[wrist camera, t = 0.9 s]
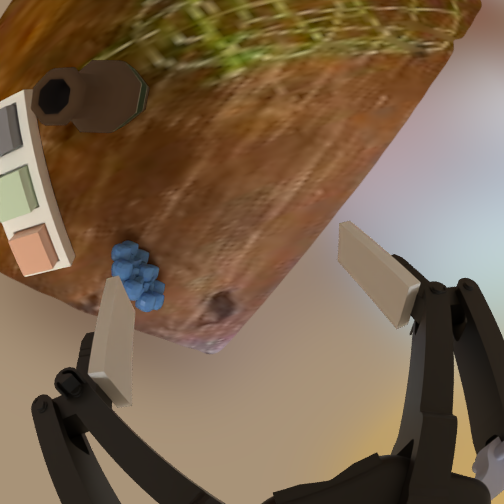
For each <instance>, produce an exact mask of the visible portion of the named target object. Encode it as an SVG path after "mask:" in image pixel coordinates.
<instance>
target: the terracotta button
mask: <svg viewBox="0 0 504 504" xmlns="http://www.w3.org/2000/svg"><path fill="white" fill-rule="evenodd" d="M8 242H9V244H10V247H11V249H12V252H13V254H14V256H15V258H16V261H17V263H18V265H19V267H20V269H21V271H22V273H23V275H24V276H26V275H30V274H34V273H38V272H42V271H47V270H51V269H53V268H54V266H55V264H56V262H57V261H58V259H59V258H58V255H57V253H56V250H55V248H54V245H53V243H52V240H51V238H50V235H49V232H48V230H47V227H46V224H45V223H44V224H41V225H37V226H34V227H31V228H28V229H25V230H22V231H19V232H16V233H15V234H14V235H13V237H12V238H11V239H10V240H9V241H8Z"/></svg>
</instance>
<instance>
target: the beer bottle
mask: <svg viewBox="0 0 504 504" xmlns="http://www.w3.org/2000/svg"><path fill="white" fill-rule="evenodd" d="M148 93H149V87H148V85H147V84H146V83H145V81H144V80H143V79H142V77H141V76H140V75H139V73H138V72H137V71H136V70H135V69H134V68H133V67H131V66H130V65H129V64H127V63H126V62H124V61H115V60H92V61H91V62H89V63H88V64H87V65H86V66H85V67H84V68H82V69H81V70H80V71H79V72H78V70H77V69H76V68H75V67H71V68H54V69H52V70H50V71H49V72H48V73H47V74H46V75H45V76H44V77H43V78H42V79H41V80H40V81H39V82H38V83H37V84H36V85H35V86H34V88H33V94H32V102H31V110H32V111H33V113H34V114H35V115H36V117H37V118H38V119H39V121H40V122H41V123H42V124H44V125H67V124H68V123H69V122H70V121H72V122H73V123H74V125H75V126H76V127H77V129H78V130H79V131H80V132H97V133H111V132H114V131H115V130H117V129H119V128H121V127H123V126H125V125H126V124H128V123H129V122H130V121H131V120H132V119H134V118H135V117H136V116H138V115H139V114H140V113H141V112H143V111H144V110H145V108H146V103H147V98H148Z"/></svg>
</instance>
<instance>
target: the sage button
mask: <svg viewBox="0 0 504 504" xmlns="http://www.w3.org/2000/svg"><path fill="white" fill-rule="evenodd" d="M38 205H39V203H38V200H37V197H36V193H35V190H34V186H33V183H32V179H31V176H30V172H29V168H28V165H26V166H24V167H21V168H19V169H17V170H14V171H12V172H10V173H7V174H5V175H3V176H1V177H0V221H1V223H2V222H5V221H8V220H10V219H13V218H16V217H19V216H22V215H25V214H27V213H30V212H32V211H33V210H34V209H35V208H36V207H37V206H38Z"/></svg>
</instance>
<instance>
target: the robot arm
mask: <svg viewBox="0 0 504 504" xmlns="http://www.w3.org/2000/svg"><path fill="white" fill-rule="evenodd" d="M338 262H339V263H340V264H341V265H342V266H343V268H344V269H345V270H346V271H347V272H348V273H349V274H350V275H351V276H352V278H353V279H354V280H355V281H356V282H357V283H358V284H359V286H360V287H361V288H362V289H363V290H364V291H365V292H366V294H367V295H368V296H369V297H370V298H371V299H372V300H373V302H374V303H375V304H376V305H377V306H378V308H379V309H380V310H381V311H382V312H383V313H384V315H385V316H386V317H387V318H388V319H389V321H390V322H391V323H392V324H393V325H394V327H395V328H396V329H398V328H401V327H403V326H405V325H407V324H408V322H409V319H410V316H412V317H413V319H414V320H415V321H414V324H413V326H412V329H411V332H410V335H412V332H413V336H412V348H411V359H410V369H409V377H408V384H407V391H406V397H405V404H404V409H403V415H402V420H401V426H400V430H399V434H398V438H397V441H396V443H395V445H394V447H393V450H392V453H391V455H384V456H379V455H378V454H377V453H375V454H373V455H371V456H369V457H367V458H365V459H362V460H360V461H358V462H356V463H354V464H352V465H351V466H350V467H348V468H347V469H346V470H344V471H343V472H341V473H340V474H339V475H337V476H336V477H335V478H333V479H331V480H329V481H324V482H317V483H309V484H300V485H297V486H294V487H290V488H287V489H284V490H281V491H277V492H273V495H274V496H273V497H271V498H269V499H267V500H266V501H264V502H263V503H262V504H491V500H492V499H493V498H494V497H496V496H497V495H498V494H499V493H500V492H502V491H503V490H504V340H503V337H502V334H501V332H500V330H499V327H498V325H497V323H496V321H495V319H494V316H493V315H492V312H491V310H490V308H489V306H488V304H487V302H486V300H485V298H484V296H483V294H482V292H481V290H480V288H479V287H478V285H477V284H476V283H475V282H474V281H473V280H471V279H469V278H462V279H460V280H459V281H458V284H457V287H450V288H449V287H448V288H447V287H446V286H445V285H443V284H442V283H439V282H429V281H428V280H427V279H426V278H425V277H424V276H423V275H422V274H420V273H419V272H418V271H417V270H416V269H415V268H413V266H411V265H410V264H409V263H408V262H407V261H406V260H405V259H403V258H402V257H400V256H397V255H395V254H393V255H390V254H389V253H388V252H387V251H385V250H384V249H383V248H382V247H381V246H380V245H378V244H377V243H376V242H375V241H374V240H373V239H371V238H370V237H369V236H368V235H366V234H365V233H364V232H363V231H362V230H360V229H359V228H358V227H357V226H355V225H354V224H353V223H352V222H350V221H347V222H343V223H340V224H339V246H338ZM134 323H135V310H134V308H133V306H132V304H131V302H130V299H129V297H128V295H127V293H126V291H125V288H124V286H123V284H122V282H121V279H120V277H119V276H115V277H111V278H107V280H106V284H105V288H104V292H103V296H102V300H101V304H100V309H99V313H98V319H97V323H96V328H95V332H91V333H87V334H86V335H85V337H84V338H83V340H82V342H81V347H80V352H79V358H78V362H77V367H76V369H75V368H71V367H68V368H65V369H63V370H61V371H60V372H59V373H58V374H57V376H56V378H55V383H54V385H55V388H56V389H57V390H58V392H59V393H60V394H61V396H59V397H57V398H54V399H51V398H50V397H49V396H48V395H40V396H38V397H37V398H35V400H34V401H33V403H32V407H31V410H32V416H33V420H34V424H35V428H36V432H37V436H38V440H39V443H40V446H41V450H42V453H43V456H44V459H45V462H46V465H47V468H48V471H49V474H50V476H51V479H52V481H53V484H54V487H55V489H56V491H57V494H58V496H59V498H60V501H61V503H62V504H121V503H120V501H119V499H118V498H117V496H116V494H115V493H114V491H113V489H112V487H111V486H110V484H109V482H108V480H107V478H106V477H105V475H104V473H103V471H102V469H101V467H100V465H99V463H98V461H97V459H96V457H95V455H94V453H93V451H92V449H91V446H90V444H89V442H88V440H87V437H86V435H85V433H86V432H88V431H90V432H91V434H92V435H93V436H94V437H95V439H96V440H97V441H98V442H99V443H100V445H101V446H102V447H103V448H104V449H105V450H106V451H107V453H108V454H109V455H110V456H111V457H112V458H113V459H114V460H115V462H116V463H117V464H118V465H119V466H120V467H121V468H122V469H123V470H124V471H125V472H126V473H127V474H128V475H129V476H130V477H131V478H132V479H133V480H134V481H135V482H136V483H137V484H138V485H139V486H140V487H141V488H142V489H143V490H145V491H146V492H147V493H148V494H149V495H150V496H151V497H152V498H153V499H154V500H156V501H157V502H158V503H159V504H225V503H224V502H222V501H221V500H219V499H217V498H216V497H214V496H213V495H211V494H210V493H208V492H207V491H206V490H204V489H203V488H201V487H200V486H198V485H197V484H196V483H194V482H193V481H191V480H190V479H189V478H188V477H186V476H185V475H183V474H182V473H181V472H180V471H179V470H177V469H176V468H175V467H173V466H172V465H171V464H170V463H168V462H167V461H166V460H165V459H164V458H163V457H161V456H160V455H159V454H158V453H157V452H156V451H154V450H153V449H152V448H151V447H150V446H149V445H148V444H147V443H146V442H144V441H143V440H142V439H141V438H140V437H139V436H138V435H137V434H136V433H135V432H134V431H133V430H132V429H131V428H130V427H129V426H128V425H127V424H126V423H125V422H124V421H123V420H122V419H121V418H120V417H119V416H118V415H117V414H116V413H115V412H114V411H113V410H112V402H113V403H114V404H115V405H116V406H117V407H127V406H132V361H133V360H132V359H133V338H134ZM453 351H454V353H453ZM453 355H455V358H456V362H457V366H458V370H459V373H460V377H461V382H462V386H463V390H464V395H465V400H466V405H467V410H468V415H469V421H470V427H471V434H472V439H473V444H474V447H475V451H476V454H477V457H476V459H475V462H474V463H473V466H472V470H473V472H474V473H476V476H475V478H471V477H467V476H463V475H459V474H456V473H453V472H451V470H452V464H453V458H454V451H455V444H456V435H457V417H456V416H454V415H453V414H452V409H453V386H454V356H453Z"/></svg>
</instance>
